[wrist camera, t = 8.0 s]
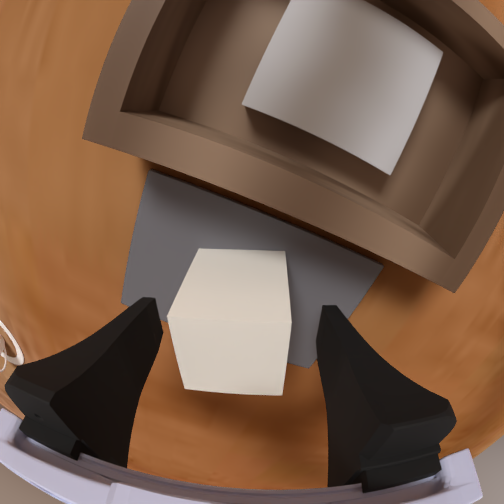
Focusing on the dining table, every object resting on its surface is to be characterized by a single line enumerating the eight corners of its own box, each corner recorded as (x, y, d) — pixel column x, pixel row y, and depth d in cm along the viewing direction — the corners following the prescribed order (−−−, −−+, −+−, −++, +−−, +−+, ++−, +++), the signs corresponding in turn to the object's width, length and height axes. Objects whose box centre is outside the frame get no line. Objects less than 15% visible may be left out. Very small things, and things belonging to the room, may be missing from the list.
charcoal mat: (381, 263, 14) (383, 266, 13) (308, 364, 17) (308, 368, 17) (151, 168, 12) (148, 170, 12) (122, 299, 16) (120, 302, 15)
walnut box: (495, 77, 8) (546, 79, 5) (417, 250, 13) (454, 293, 10) (225, -65, 6) (211, -110, 3) (132, 128, 11) (81, 138, 8)
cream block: (285, 250, 13) (291, 322, 9) (280, 318, 15) (282, 395, 11) (198, 248, 13) (166, 316, 9) (205, 315, 15) (184, 388, 11)
